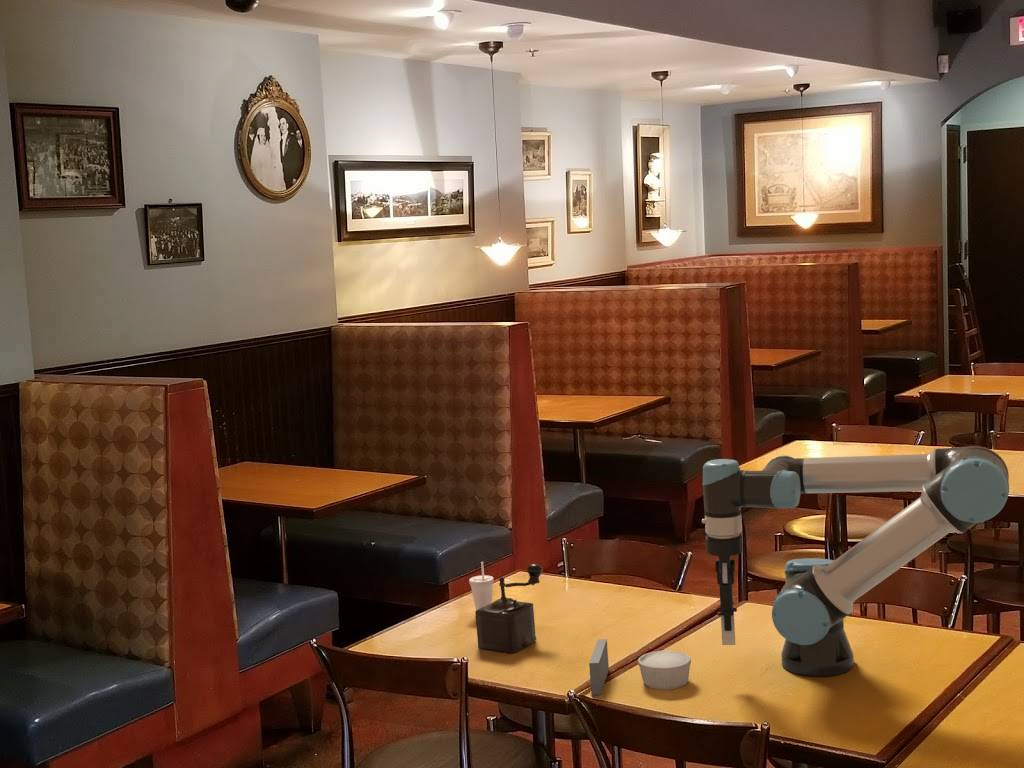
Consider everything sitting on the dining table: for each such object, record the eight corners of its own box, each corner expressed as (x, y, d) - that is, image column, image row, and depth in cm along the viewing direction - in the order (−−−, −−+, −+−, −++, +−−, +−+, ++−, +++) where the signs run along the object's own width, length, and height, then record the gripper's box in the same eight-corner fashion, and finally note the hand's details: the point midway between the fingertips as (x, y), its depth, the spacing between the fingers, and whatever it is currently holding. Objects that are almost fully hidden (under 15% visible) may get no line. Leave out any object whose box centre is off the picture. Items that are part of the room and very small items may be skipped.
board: (608, 669, 269) (606, 639, 269) (600, 695, 255) (598, 663, 254) (599, 669, 270) (597, 639, 269) (591, 695, 255) (589, 663, 254)
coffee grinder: (515, 654, 284) (509, 579, 282) (476, 648, 290) (470, 575, 288) (551, 634, 296) (545, 562, 294) (513, 629, 303) (508, 558, 301)
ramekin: (640, 673, 266) (638, 650, 265) (692, 672, 264) (690, 648, 264) (638, 692, 255) (636, 668, 254) (692, 691, 253) (690, 667, 253)
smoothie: (496, 617, 313) (491, 564, 311) (471, 619, 313) (466, 566, 311) (496, 610, 319) (492, 558, 318) (472, 612, 319) (468, 559, 318)
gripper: (706, 526, 260) (711, 633, 263) (704, 542, 248) (709, 654, 250) (742, 526, 259) (747, 633, 262) (741, 541, 246) (747, 654, 249)
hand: (728, 643), depth 256 cm, fingers closed
